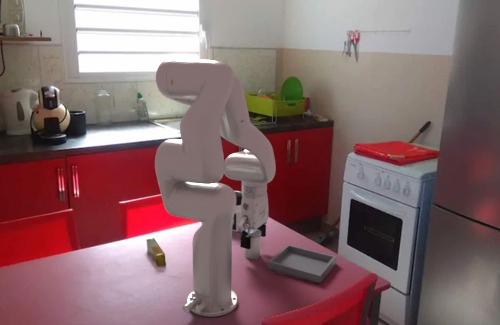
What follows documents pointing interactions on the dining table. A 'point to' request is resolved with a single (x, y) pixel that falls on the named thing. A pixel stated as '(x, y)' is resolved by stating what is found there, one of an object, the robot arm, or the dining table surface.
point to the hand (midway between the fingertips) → (253, 241)
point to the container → (237, 211)
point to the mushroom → (254, 245)
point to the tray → (302, 263)
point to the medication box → (156, 252)
